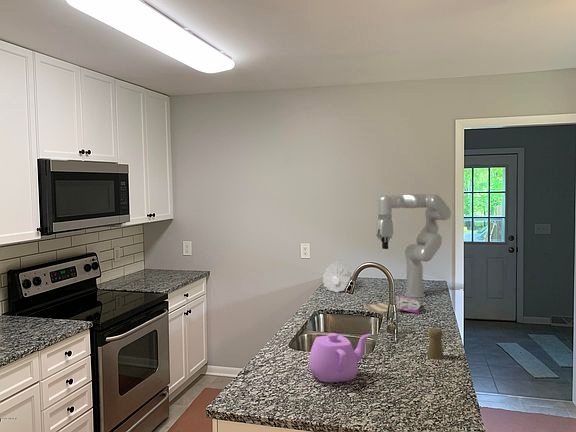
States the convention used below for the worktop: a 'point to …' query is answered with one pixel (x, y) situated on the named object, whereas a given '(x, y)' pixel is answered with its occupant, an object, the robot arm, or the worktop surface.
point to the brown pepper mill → (435, 344)
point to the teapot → (335, 358)
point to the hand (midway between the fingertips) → (385, 248)
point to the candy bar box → (408, 304)
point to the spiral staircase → (337, 276)
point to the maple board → (379, 308)
